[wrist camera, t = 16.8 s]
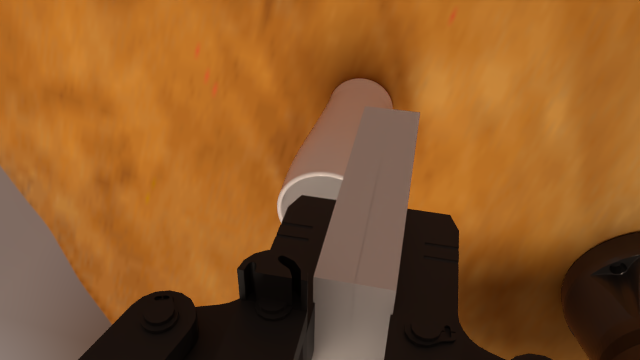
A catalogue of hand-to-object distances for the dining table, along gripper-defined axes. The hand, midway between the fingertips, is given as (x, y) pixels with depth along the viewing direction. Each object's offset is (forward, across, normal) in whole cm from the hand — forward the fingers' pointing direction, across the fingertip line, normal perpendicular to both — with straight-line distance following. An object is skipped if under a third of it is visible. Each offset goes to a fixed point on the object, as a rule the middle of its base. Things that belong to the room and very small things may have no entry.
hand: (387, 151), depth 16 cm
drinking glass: (+29, +4, +14) cm, 32 cm away
